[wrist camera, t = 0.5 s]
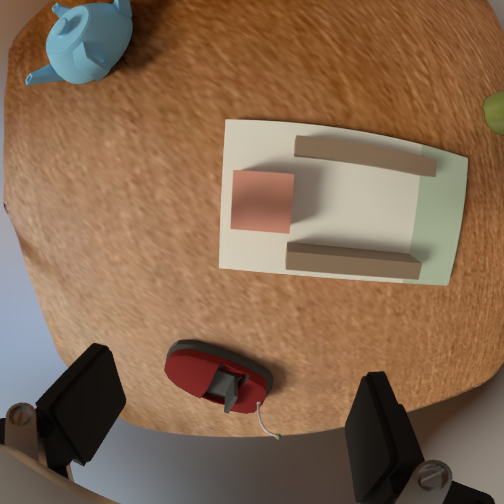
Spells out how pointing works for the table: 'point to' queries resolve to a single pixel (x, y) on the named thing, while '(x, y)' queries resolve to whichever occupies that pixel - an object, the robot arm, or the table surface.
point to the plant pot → (495, 112)
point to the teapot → (85, 42)
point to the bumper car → (219, 377)
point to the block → (261, 201)
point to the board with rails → (347, 204)
